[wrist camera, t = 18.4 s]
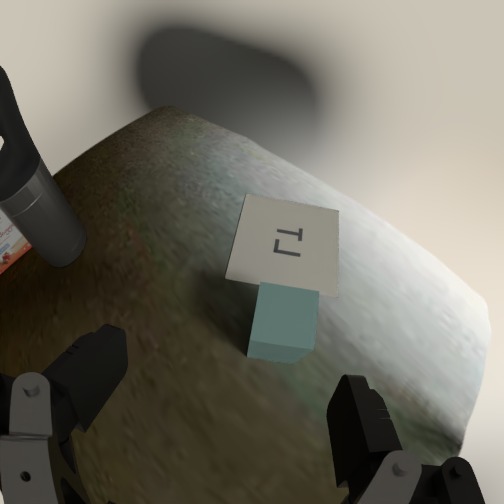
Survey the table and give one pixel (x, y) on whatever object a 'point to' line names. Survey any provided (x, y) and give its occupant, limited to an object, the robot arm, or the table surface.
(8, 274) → the table surface
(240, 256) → the card
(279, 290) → the teal block
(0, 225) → the cracker box
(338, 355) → the table surface
